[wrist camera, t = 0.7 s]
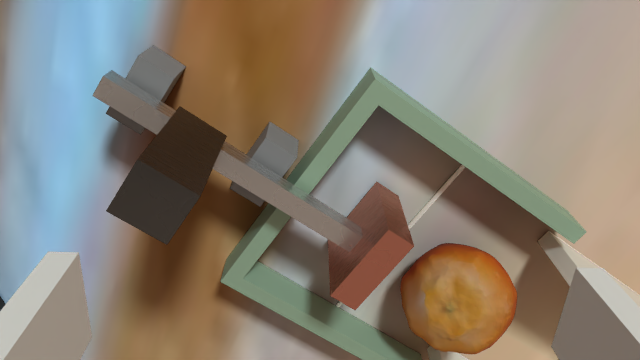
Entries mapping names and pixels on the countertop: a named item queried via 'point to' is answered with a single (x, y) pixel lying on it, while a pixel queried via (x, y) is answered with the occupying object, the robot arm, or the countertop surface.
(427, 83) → the countertop surface
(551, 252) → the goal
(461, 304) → the fruit
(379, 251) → the kicker rod
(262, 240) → the pitch
